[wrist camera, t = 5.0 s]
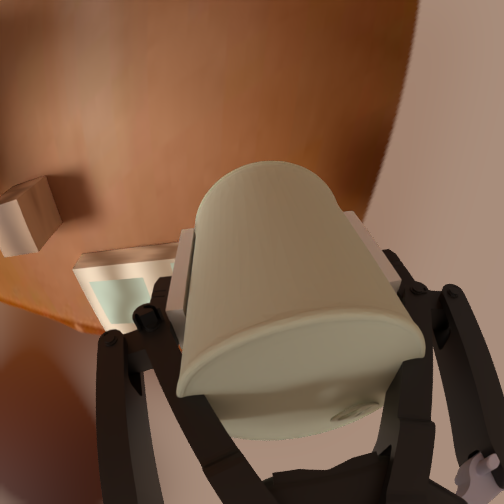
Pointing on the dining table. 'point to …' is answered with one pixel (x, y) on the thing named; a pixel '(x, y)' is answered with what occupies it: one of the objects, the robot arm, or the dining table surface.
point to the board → (123, 280)
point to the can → (288, 309)
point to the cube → (27, 217)
